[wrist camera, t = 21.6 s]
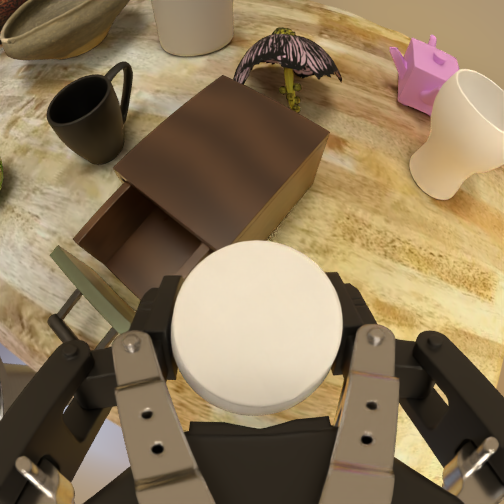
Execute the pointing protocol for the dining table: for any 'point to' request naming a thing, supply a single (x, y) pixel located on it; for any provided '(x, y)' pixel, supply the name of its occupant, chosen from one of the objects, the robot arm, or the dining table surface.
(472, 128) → the cup
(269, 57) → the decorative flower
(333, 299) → the supplement bottle
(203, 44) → the cylinder vase
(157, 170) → the cabinet
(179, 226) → the drawer
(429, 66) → the teapot
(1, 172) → the decorative ball
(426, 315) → the dining table surface
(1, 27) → the ceramic vessel
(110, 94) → the mug
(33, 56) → the bowl
